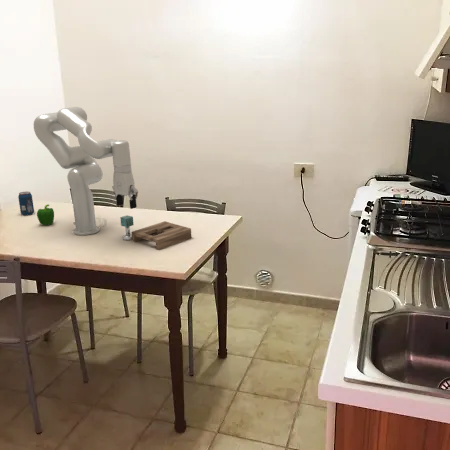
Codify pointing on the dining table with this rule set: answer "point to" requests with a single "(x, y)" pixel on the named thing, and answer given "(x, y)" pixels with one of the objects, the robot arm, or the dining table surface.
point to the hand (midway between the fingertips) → (126, 206)
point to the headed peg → (127, 226)
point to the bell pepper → (45, 216)
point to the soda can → (26, 203)
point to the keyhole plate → (162, 234)
